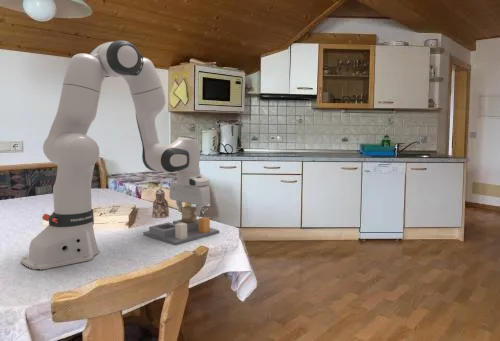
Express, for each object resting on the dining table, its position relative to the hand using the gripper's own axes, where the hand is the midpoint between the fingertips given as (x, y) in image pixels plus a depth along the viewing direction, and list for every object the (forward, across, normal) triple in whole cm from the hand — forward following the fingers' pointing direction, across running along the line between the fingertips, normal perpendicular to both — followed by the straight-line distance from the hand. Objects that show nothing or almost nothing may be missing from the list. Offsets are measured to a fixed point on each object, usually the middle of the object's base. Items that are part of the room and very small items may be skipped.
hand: (189, 213), depth 165 cm
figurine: (+7, -27, +6) cm, 29 cm away
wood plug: (+5, 0, 0) cm, 5 cm away
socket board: (+6, +2, -6) cm, 9 cm away
